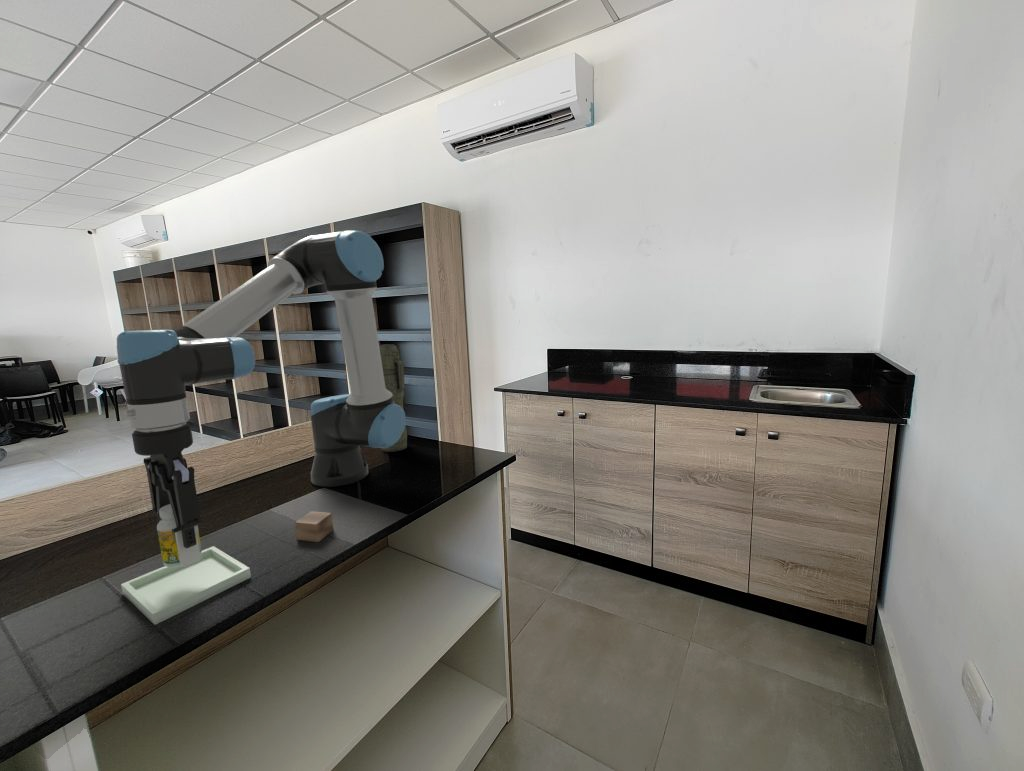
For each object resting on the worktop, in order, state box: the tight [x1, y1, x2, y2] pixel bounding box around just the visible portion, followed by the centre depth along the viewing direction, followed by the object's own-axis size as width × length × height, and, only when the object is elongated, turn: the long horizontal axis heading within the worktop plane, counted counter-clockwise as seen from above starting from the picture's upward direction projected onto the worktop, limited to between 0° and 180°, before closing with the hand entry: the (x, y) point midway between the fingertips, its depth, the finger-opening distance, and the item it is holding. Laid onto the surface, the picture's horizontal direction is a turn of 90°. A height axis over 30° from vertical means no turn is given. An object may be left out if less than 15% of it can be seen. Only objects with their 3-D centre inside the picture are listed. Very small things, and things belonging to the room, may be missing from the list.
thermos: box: [379, 343, 408, 453], centre depth 146 cm, size 9×12×35 cm
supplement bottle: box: [156, 504, 203, 567], centre depth 74 cm, size 5×5×10 cm
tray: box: [120, 545, 252, 626], centre depth 76 cm, size 14×14×2 cm
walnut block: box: [294, 510, 334, 543], centre depth 92 cm, size 5×5×4 cm
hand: (183, 557), depth 75 cm, fingers closed on supplement bottle, 5 cm apart
